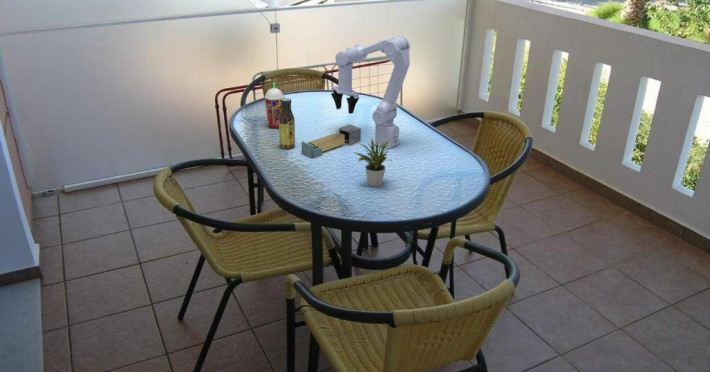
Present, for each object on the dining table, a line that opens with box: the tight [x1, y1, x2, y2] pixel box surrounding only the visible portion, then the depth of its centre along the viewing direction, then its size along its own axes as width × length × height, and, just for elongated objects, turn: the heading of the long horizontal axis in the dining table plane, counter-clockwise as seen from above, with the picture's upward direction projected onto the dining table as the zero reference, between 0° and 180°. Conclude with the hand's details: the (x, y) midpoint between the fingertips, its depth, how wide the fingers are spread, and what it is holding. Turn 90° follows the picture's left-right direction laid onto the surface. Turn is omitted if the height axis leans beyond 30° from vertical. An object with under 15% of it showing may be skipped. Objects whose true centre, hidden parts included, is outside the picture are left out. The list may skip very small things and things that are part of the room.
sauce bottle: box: [278, 97, 296, 150], centre depth 238 cm, size 7×6×20 cm
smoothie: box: [264, 81, 285, 129], centre depth 259 cm, size 8×8×20 cm
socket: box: [301, 141, 323, 159], centre depth 234 cm, size 5×7×5 cm
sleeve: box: [338, 124, 362, 146], centre depth 247 cm, size 6×6×6 cm
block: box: [307, 131, 345, 153], centre depth 239 cm, size 16×4×4 cm, turn 135°
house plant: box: [353, 137, 393, 187], centre depth 210 cm, size 14×14×16 cm
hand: (344, 111), depth 253 cm, fingers open, 7 cm apart
